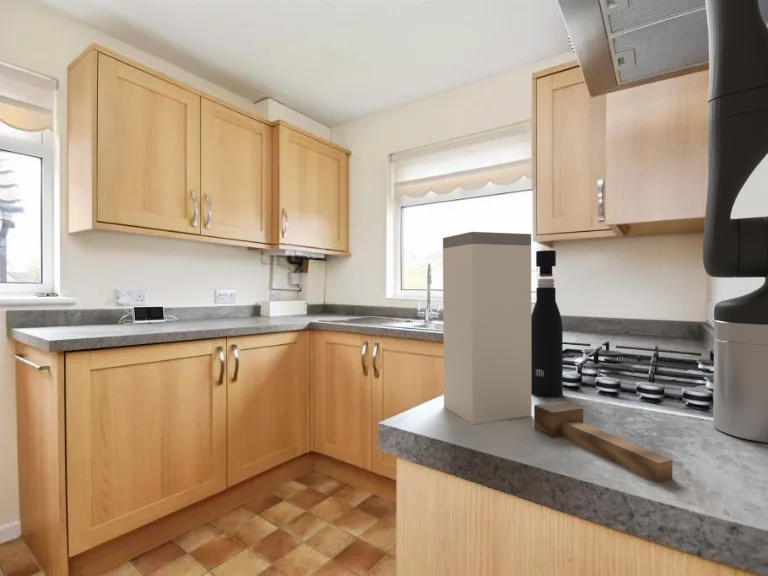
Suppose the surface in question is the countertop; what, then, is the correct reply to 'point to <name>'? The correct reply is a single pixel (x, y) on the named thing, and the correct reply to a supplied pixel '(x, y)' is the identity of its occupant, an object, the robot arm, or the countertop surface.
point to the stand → (487, 325)
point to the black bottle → (546, 333)
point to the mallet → (599, 440)
